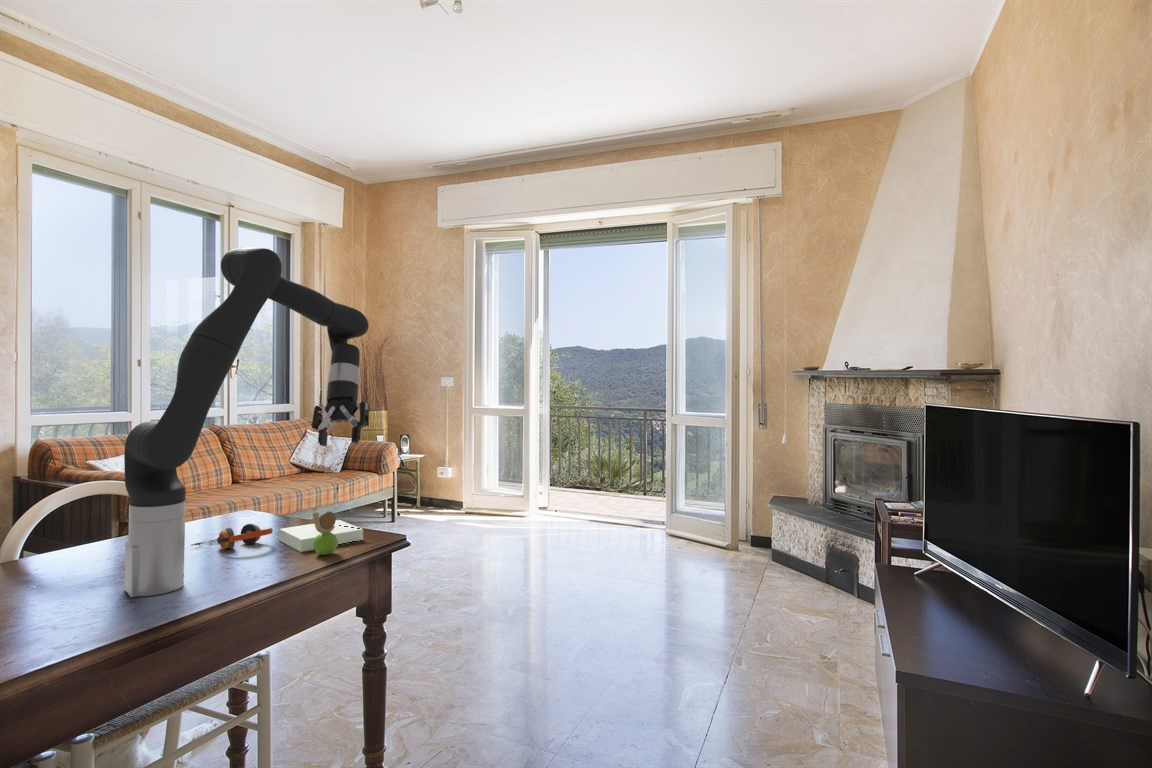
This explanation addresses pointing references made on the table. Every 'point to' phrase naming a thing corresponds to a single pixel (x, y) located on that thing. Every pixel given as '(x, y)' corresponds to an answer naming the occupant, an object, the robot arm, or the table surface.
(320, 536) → the snail figurine
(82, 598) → the table surface
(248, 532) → the headphones
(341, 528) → the sage board
